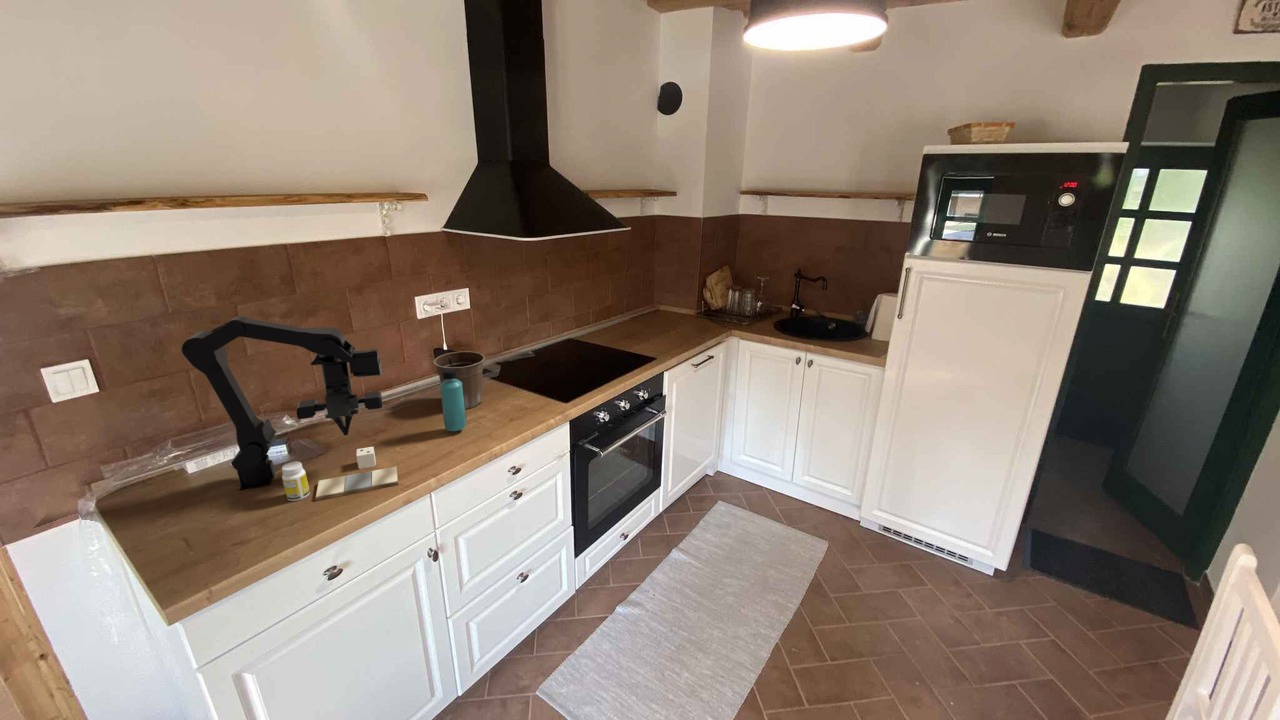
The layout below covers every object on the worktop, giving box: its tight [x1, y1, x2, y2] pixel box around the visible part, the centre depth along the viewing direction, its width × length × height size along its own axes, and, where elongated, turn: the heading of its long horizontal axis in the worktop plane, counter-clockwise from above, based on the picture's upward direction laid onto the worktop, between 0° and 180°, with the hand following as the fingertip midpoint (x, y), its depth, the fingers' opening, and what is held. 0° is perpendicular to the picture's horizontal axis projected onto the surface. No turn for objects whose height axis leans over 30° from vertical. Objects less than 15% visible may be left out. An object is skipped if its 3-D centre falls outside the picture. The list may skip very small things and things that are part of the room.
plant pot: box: [433, 350, 486, 410], centre depth 177 cm, size 16×16×16 cm
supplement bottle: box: [281, 460, 311, 502], centre depth 125 cm, size 5×5×8 cm
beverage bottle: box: [439, 369, 467, 432], centre depth 157 cm, size 6×7×20 cm
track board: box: [315, 466, 399, 502], centre depth 132 cm, size 18×8×1 cm, turn 116°
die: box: [356, 446, 377, 470], centre depth 140 cm, size 4×4×4 cm
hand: (346, 434), depth 136 cm, fingers closed
